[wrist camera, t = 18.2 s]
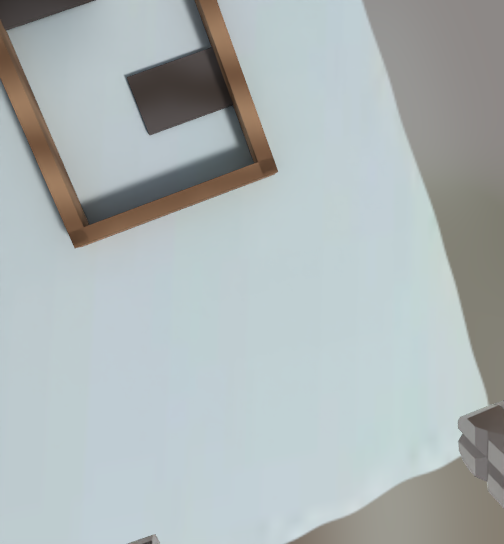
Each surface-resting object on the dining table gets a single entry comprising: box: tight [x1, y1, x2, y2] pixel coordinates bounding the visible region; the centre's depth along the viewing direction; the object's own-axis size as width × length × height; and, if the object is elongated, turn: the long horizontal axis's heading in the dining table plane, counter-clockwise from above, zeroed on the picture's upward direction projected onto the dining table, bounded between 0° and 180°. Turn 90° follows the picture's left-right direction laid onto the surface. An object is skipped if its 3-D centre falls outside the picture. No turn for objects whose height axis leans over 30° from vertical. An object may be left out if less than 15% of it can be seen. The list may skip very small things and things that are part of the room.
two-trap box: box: [0, 0, 278, 248], centre depth 33 cm, size 27×16×2 cm, turn 21°
